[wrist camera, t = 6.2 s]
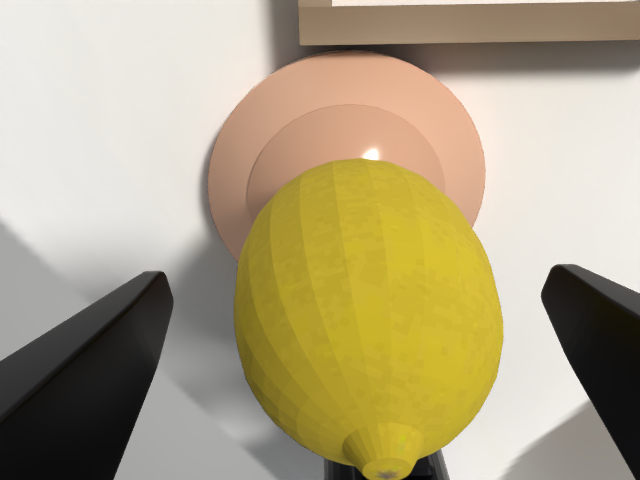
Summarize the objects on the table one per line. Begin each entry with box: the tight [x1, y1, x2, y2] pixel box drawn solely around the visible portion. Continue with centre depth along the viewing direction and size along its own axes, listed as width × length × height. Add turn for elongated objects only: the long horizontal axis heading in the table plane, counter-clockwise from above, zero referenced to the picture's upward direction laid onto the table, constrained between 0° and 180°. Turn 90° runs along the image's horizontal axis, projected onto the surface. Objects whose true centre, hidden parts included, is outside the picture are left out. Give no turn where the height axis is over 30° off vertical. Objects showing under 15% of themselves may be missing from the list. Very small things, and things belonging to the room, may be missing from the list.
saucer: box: [208, 50, 485, 262], centre depth 12 cm, size 9×9×1 cm
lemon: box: [234, 158, 503, 480], centre depth 8 cm, size 6×6×8 cm
